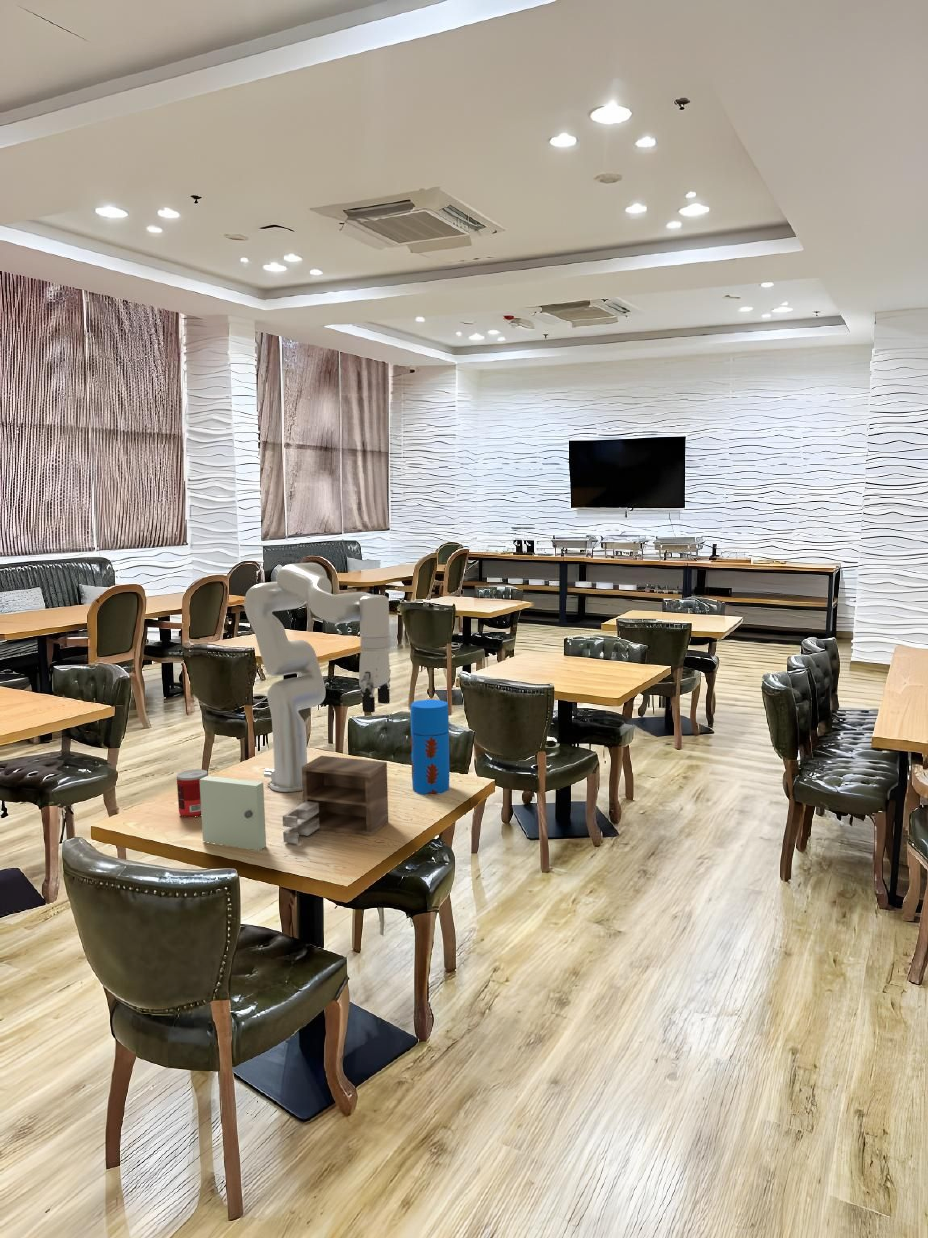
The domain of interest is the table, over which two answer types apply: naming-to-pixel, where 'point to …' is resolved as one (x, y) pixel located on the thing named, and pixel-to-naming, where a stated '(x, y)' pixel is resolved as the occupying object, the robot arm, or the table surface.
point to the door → (233, 812)
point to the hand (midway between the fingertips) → (376, 707)
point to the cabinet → (340, 798)
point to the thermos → (430, 746)
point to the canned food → (190, 792)
